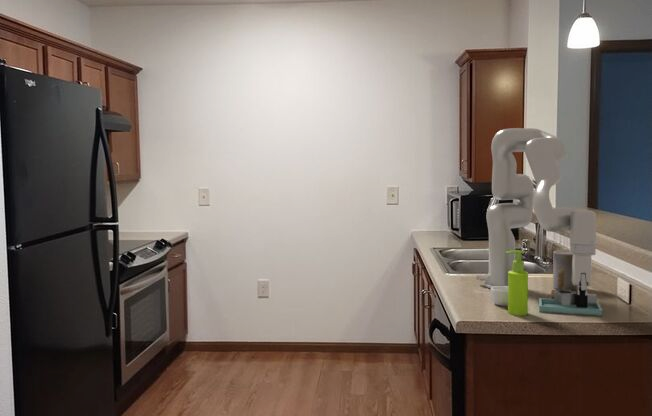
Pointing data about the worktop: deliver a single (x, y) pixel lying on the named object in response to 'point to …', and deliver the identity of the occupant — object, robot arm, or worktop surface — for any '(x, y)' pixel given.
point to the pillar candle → (563, 261)
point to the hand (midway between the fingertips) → (581, 305)
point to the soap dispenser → (517, 286)
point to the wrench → (570, 297)
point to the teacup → (500, 295)
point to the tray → (569, 308)
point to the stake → (559, 282)
